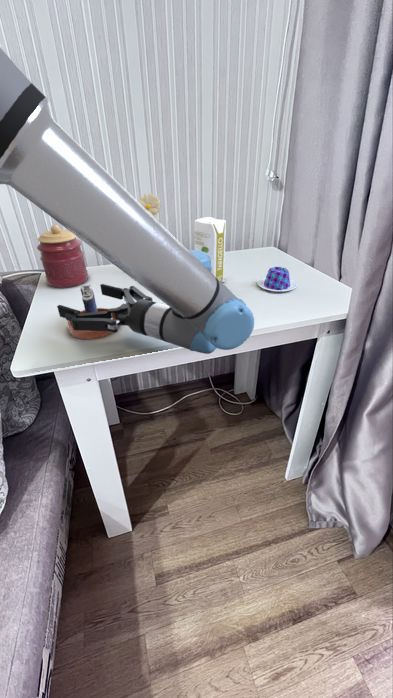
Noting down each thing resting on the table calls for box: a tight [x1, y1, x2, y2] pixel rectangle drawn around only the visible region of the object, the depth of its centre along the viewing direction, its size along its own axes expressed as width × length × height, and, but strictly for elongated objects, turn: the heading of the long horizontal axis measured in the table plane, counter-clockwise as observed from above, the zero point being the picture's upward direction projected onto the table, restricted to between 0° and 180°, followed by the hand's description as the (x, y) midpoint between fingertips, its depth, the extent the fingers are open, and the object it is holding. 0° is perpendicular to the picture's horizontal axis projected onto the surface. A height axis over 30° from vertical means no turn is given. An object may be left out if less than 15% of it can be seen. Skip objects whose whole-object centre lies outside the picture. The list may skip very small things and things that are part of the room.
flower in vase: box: [137, 193, 162, 222], centre depth 105 cm, size 13×11×25 cm
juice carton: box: [193, 216, 227, 283], centre depth 99 cm, size 8×9×19 cm
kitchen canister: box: [36, 224, 89, 289], centre depth 101 cm, size 13×13×18 cm
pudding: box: [256, 266, 298, 292], centre depth 99 cm, size 12×12×5 cm
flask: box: [80, 284, 98, 313], centre depth 78 cm, size 9×3×11 cm, turn 21°
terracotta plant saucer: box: [67, 307, 116, 340], centre depth 80 cm, size 12×12×2 cm
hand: (82, 299), depth 78 cm, fingers open, 13 cm apart
